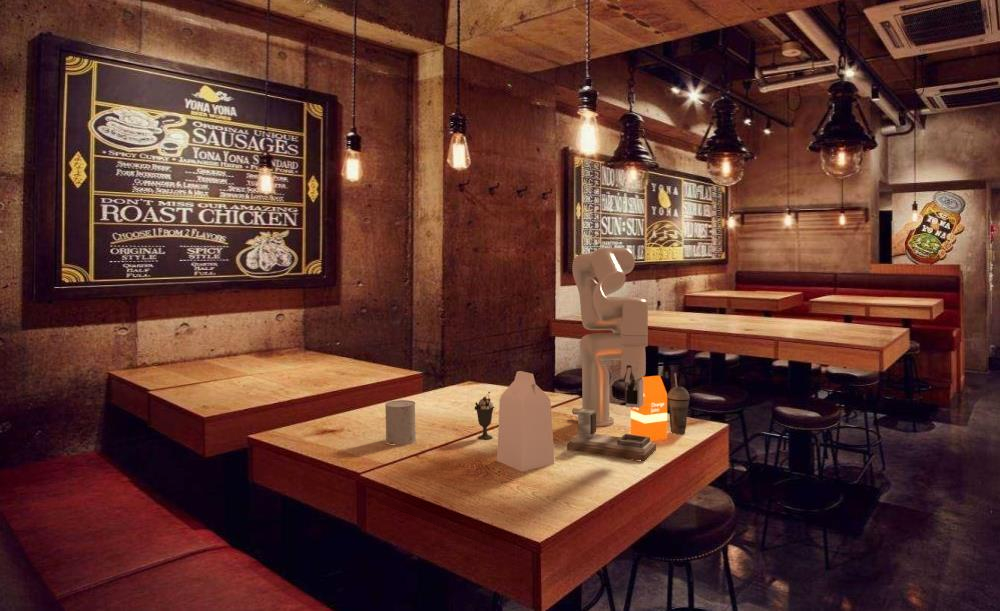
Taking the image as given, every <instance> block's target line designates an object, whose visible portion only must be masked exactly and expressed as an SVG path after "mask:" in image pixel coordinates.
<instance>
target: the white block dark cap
mask: <svg viewBox="0 0 1000 611" xmlns="http://www.w3.org/2000/svg"><path fill="white" fill-rule="evenodd" d="M631 380H634V379H633V378H631ZM632 383H633V385H634V382H632ZM643 384H644V379H641V378H640V379H638V380H637V387H636V391H637V404H628V403H626V383H625V382H624V402H625V407H627V408H631V407H634V408H640V407H642V406H643Z"/></svg>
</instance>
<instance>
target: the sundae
mask: <svg viewBox="0 0 1000 611" xmlns="http://www.w3.org/2000/svg"><path fill="white" fill-rule="evenodd" d="M489 394H491V391H488V393H487V394H486V395H485V396H483V397H482V398H481V399H480V400H479V401H478V402H477V401H476V402H475V403H474V404H475V406H474V410H476V414H477V422H478V424H479V425H480V427H481V428H482V435H478V436H477V439H479V440H483V441H485V440H486V441H487V440H491V439H493V436H492V435H490V434H488V430H487V429H488V428H487V427H489V426H490V425H491V424H492V418H493V410H494V409H495V408H496V406H494V404H493V402H492V401H491V400H492V399H491V398H490V397H488V398H487V396H489Z"/></svg>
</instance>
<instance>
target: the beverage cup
mask: <svg viewBox="0 0 1000 611" xmlns="http://www.w3.org/2000/svg"><path fill="white" fill-rule="evenodd" d="M677 379H678V378H677V372H675V373H674V382H675V384H674V385H675V386H673V387H672V388H671V389H670V390H669V391H668V393H667V405H668V412H669V413H668V414H669V427H670V433H671V432H672V433H671V434H673V433H675V434H674V435H685V434H686V428H687V418H688V411H689V404H690V399H691V398H690V394H689V391H688V390H687V388H685V387H683V386H679V385H678V380H677ZM684 433H685V434H684Z"/></svg>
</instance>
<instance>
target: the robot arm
mask: <svg viewBox="0 0 1000 611" xmlns="http://www.w3.org/2000/svg"><path fill="white" fill-rule="evenodd" d="M635 260H636V259H635V256H634V254H633V252H632V251H631V250H630V249H629V248H626V247H602V248H598V249H596V250H594V251H593V252H589V253H587V252H586V253H581V254H578V255H575V257H574V258H573V261H572V276H573V279H574V283H575V285H576V288H577V290H578V295H579V307H580V316H581V323H582V327H583V328H584V329H586V330H588V331H612V332H609V333H606V332H605V333H604V332H602V333H589V334H588V333H587V334H585V335H584V336H582V337H581V338H580V339H579V340H580V341H579V351H580V352H579V353H580V358H581V369H582V372H581V373H582V374H581V377H582V378H581V379H582V380H581V381H582V382H581V383H582V384H581V385H582V387H581V388H582V389H581V390H582V396H581V398H582V399H581V400H582V407H581V408H578V407H577V408H576V407H572V409H571V413H572V414H573V415H575V416H576V415H577V416H578V412H579V411H580V410H582V409H587V410H595V413H596V427H608V426H611V425H613V424H614V422H615V419H614V418H613V417H612V416H610V372H609V369H608V368H607V367H606V366H605V364H604V363H603V362H604V361H621V362H620V379H621V380H624V384H625V383H626V402H625V404H626V403H628V404H637V391H636V387H637V380H638V379H640V378H641V379H642V377H646V370H647V369H646V368H647V367H646V366H647V365H646V364H647V362H646V360H647V358H646V357H647V356H646V354H647V353H646V347H648V344H649V341H648V338H649V337H648V336H649V334H648V331H649V330H648V327H649V323H648V322H649V303H648V301H647V300H646V299H644V298H640V297H637V296H609V295H611V294H613V293H616V292H617V291H619V290H620V289H622V288H623V287H624V285H625V283H626V281H627V279H626V275H627V274H629V273H631V272H632V271H633V270H634V268H635V263H636V262H635ZM595 278H596V279H597V281H598V282H597V281H596V280H595ZM631 378H633V379H634V380H631ZM632 382H634V385H633V383H632Z"/></svg>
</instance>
